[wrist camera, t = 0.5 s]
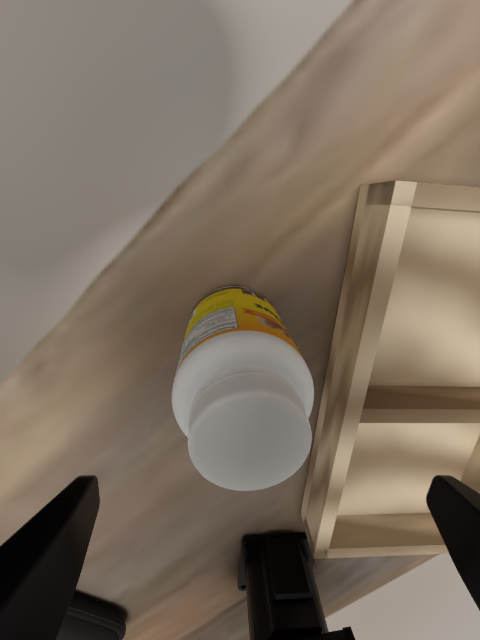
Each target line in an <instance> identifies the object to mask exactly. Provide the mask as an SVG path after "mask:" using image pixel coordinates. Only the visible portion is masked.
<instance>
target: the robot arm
mask: <svg viewBox="0 0 480 640" xmlns="http://www.w3.org/2000/svg"><path fill="white" fill-rule="evenodd" d="M426 503H427V506H428V509H429V511H430V513H431V515H432V517H433V519H434V522H435V524H436V526H437V528H438V530H439V532H440V535H441V537H442V539H443V541H444V543H445V545H446V547H447V550H448V552H449V554H450V556H451V558H452V560H453V562H454V564H455V566H456V568H457V570H458V572H459V574H460V576H461V578H462V580H463V582H464V583H465V585H466V587H467V589H468V590H469V592H470V594H471V596H472V598H473V599H474V601H475V603H476V605H477V606H478V608H479V610H480V493H478V492H476V491H475V490H473V489H472V488H470V487H469V486H467V485H465V484H464V483H462V482H461V481H459V480H458V479H456V478H454V477H453V476H450V475H436V476H434V477H433V479H432V482H431V485H430V487H429V490H428V493H427V496H426ZM99 504H100V497H99V488H98V479H97V477H96V476H94V475H82V476H79V477H77V478H76V479H75V480H73V481H72V482H71V483H70V484H69V485H68V486H67V487H66V488H65V489H63V490H62V491H61V492H60V493H59V494H58V495H57V496H56V497H55V498H53V499H52V500H51V501H50V502H49V503H48V504H47V505H46V506H44V507H43V508H42V509H41V510H40V511H39V512H38V513H37V514H36V515H34V516H33V517H32V518H31V519H30V520H29V521H28V522H27V523H26V524H24V525H23V526H22V527H21V528H20V529H19V530H18V531H17V532H16V533H14V534H13V535H12V536H11V537H10V538H9V539H8V540H7V541H5V542H4V543H3V544H2V545H1V546H0V640H56V639H57V636H58V633H59V631H60V628H61V626H62V623H63V620H64V618H65V615H66V613H67V610H68V607H69V605H70V602H71V599H72V597H73V594H74V591H75V589H76V586H77V583H78V580H79V577H80V573H81V570H82V566H83V563H84V559H85V556H86V552H87V549H88V545H89V542H90V538H91V535H92V531H93V528H94V524H95V520H96V517H97V513H98V510H99ZM313 564H314V559H313V557H312V553H311V550H310V546H309V542H308V539H307V535H306V534H298V535H267V536H246V537H244V538H243V539H242V541H241V552H240V563H239V573H238V589H239V590H242V591H245V590H246V594H247V607H248V619H249V632H250V640H355V638H354V635H353V632H352V630H351V627H345V628H343V630H339V631H333V632H328V628H327V624H326V621H325V617H324V613H323V609H322V605H321V602H320V598H319V594H318V590H317V586H316V583H315V579H314V575H313V571H312V569H313Z"/></svg>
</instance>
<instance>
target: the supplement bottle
mask: <svg viewBox="0 0 480 640" xmlns="http://www.w3.org/2000/svg"><path fill="white" fill-rule="evenodd" d="M313 402H314V385H313V380H312V376H311V373H310V371H309V369H308V366H307V364H306V362H305V360H304V358H303V357H302V355H301V354H300V352H299V350H298V348H297V347H296V345H295V343H294V341H293V340H292V338H291V336H290V335H289V333H288V331H287V330H286V328H285V326H284V324H283V323H282V321H281V319H280V318H279V316H278V314H277V312H276V311H275V309H274V308H273V306H272V305H271V303H270V302H269V301H268V300H267V299H266V298H265V297H264V296H263V295H261V294H260V293H258V292H256V291H254V290H252V289H249V288H246V287H241V286H228V287H223V288H219V289H216V290H214V291H212V292H210V293H209V294H207V295H206V296H204V297H203V298H202V299H201V300H200V301H199V302H198V303H197V305H196V306H195V307H194V309H193V311H192V313H191V315H190V318H189V322H188V326H187V329H186V333H185V337H184V341H183V345H182V350H181V354H180V358H179V362H178V366H177V370H176V375H175V378H174V383H173V389H172V407H173V412H174V415H175V418H176V421H177V423H178V425H179V427H180V428H181V430H182V431H183V433H184V434H185V435H186V436H187V437H188V451H189V455H190V458H191V461H192V462H193V464H194V466H195V468H196V469H197V470H198V471H199V473H200V474H201V475H202V476H203V477H205V478H206V479H207V480H208V481H210V482H212V483H214V484H216V485H218V486H220V487H223V488H227V489H231V490H236V491H254V490H261V489H265V488H268V487H271V486H274V485H276V484H279V483H281V482H283V481H284V480H286V479H287V478H289V477H290V476H291V475H293V474H294V473H295V472H296V471H297V470H298V469H299V468H300V467H301V466H302V464H303V463H304V461H305V460H306V458H307V456H308V454H309V451H310V448H311V442H312V432H311V427H310V423H309V420H308V418H309V416H310V414H311V411H312V407H313Z"/></svg>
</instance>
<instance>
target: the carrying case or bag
mask: <svg viewBox="0 0 480 640" xmlns="http://www.w3.org/2000/svg"><path fill="white" fill-rule="evenodd" d="M125 631H126V625H125V621H124V619H123V618H122V614H121V612H120V611H119V610H118V609H117V608H115V607H113V606H111V605H108V604H105V603H103V602H100V601H97V600H94V599H92V598H89V597H86V596H83V595H81V594H78V593H75V592H74V594H73V597H72V599H71V602H70V605H69V607H68V610H67V613H66V615H65V618H64V620H63V623H62V626H61V628H60V631H59V633H58V636H57V639H56V640H122V639H123V638H124V636H125Z"/></svg>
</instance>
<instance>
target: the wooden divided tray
mask: <svg viewBox="0 0 480 640" xmlns="http://www.w3.org/2000/svg"><path fill="white" fill-rule="evenodd" d="M436 475H450V476H453V477H454V478H456V479H458V480H459V481H461V482H462V483H464V484H465V485H467V486H469V487H470V488H472V489H473V490H475V491H476V492H478V493H480V187H471V186H458V185H445V184H432V183H420V182H407V181H389V182H382V183H375V184H367V185H361V186H360V191H359V197H358V202H357V208H356V213H355V219H354V224H353V230H352V235H351V241H350V246H349V251H348V257H347V262H346V268H345V273H344V279H343V284H342V290H341V295H340V301H339V306H338V311H337V317H336V322H335V328H334V333H333V339H332V344H331V350H330V355H329V361H328V366H327V371H326V377H325V382H324V388H323V393H322V399H321V404H320V410H319V415H318V421H317V426H316V431H315V437H314V442H313V448H312V453H311V459H310V464H309V470H308V475H307V481H306V486H305V491H304V497H303V502H302V508H301V517H302V521H303V524H304V528H305V532H306V535H307V539H308V542H309V546H310V550H311V553H312V557H313V559H323V558H348V557H373V556H397V555H422V554H447V553H449V552H448V550H447V547H446V545H445V543H444V541H443V539H442V537H441V535H440V532H439V530H438V528H437V526H436V524H435V522H434V519H433V517H432V515H431V513H430V511H429V509H428V506H427V503H426V496H427V493H428V490H429V487H430V485H431V482H432V479H433V477H434V476H436Z"/></svg>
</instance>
